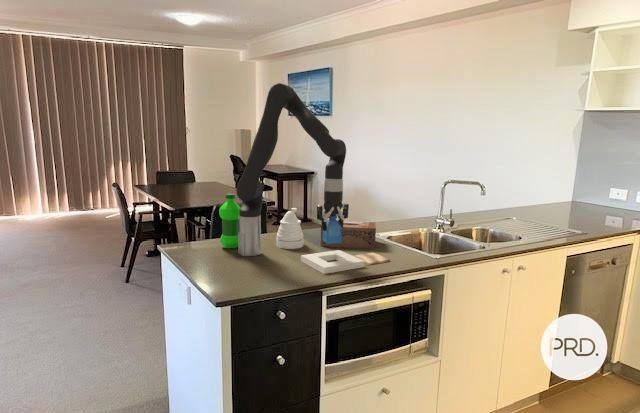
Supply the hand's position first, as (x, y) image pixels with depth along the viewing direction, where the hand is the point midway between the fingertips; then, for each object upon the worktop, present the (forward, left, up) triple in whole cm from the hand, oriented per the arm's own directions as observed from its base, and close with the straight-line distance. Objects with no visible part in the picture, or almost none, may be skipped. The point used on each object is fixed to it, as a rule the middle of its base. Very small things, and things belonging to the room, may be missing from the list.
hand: (332, 229), depth 181 cm
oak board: (+18, -2, -15) cm, 23 cm away
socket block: (0, 0, -15) cm, 15 cm away
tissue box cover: (+25, +25, -15) cm, 38 cm away
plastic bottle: (-28, +44, -15) cm, 54 cm away
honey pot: (-2, +35, -15) cm, 38 cm away
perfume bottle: (0, 0, -5) cm, 5 cm away
